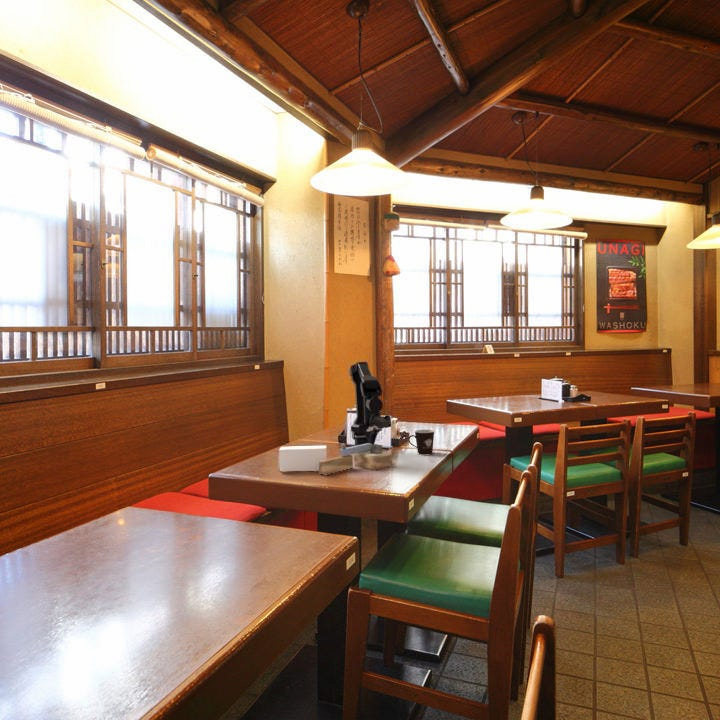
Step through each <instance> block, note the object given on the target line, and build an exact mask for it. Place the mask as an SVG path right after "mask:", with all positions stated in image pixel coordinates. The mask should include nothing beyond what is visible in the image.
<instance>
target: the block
mask: <svg viewBox="0 0 720 720" xmlns="http://www.w3.org/2000/svg"><path fill="white" fill-rule="evenodd" d="M370 445H372V444H371V443H366V444H361V445H357V446H355V445H353V446H348V447H347V444H346V443H341V448H339V456H346V455H353V454H354V455H355V453H359V452H363V451H368V450H370Z"/></svg>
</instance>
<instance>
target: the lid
mask: <svg viewBox="0 0 720 720" xmlns="http://www.w3.org/2000/svg"><path fill="white" fill-rule="evenodd" d="M354 455H357V456H362V457H367V458H372V459H376V458H380V457H385V456H389V455H392V452H391V451H386V450H383V445H382V444H376V443H374V445H370V450H368V451H363V452H359V453H354Z"/></svg>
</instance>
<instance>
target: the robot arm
mask: <svg viewBox="0 0 720 720" xmlns="http://www.w3.org/2000/svg"><path fill="white" fill-rule="evenodd" d="M348 373H349V377H350V381H351V382H352V383H353V385H354V395H355V397H354V398H355V412H356V414H355V415H356V417H355V419H354V420H353V424H352V425H351V426H350V432H351V438H352V439H353V440H354V446H357V445H361V444H366V443H371V444H372V445H374V444H376V439H377V436H378V435H379V433H380V432H381V431H382V430H383V429H387V428H391V427H392V418H391V417H392V416H391V415H389V414H386V415H384V416H382V415H381V410H383V407H384V404H383V403H384V402H383V401H382V400H381V398H379V397H382V395H383V389H382V386H381V384H380V383H381V382H380V381H379V380H378V379H377V377H376V376H374V375H372V373H371V371H370V367H369V364H368V362H367V361H357V362H355V364H352V365H350V367H349V370H348Z"/></svg>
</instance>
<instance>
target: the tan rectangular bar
mask: <svg viewBox="0 0 720 720" xmlns="http://www.w3.org/2000/svg"><path fill="white" fill-rule="evenodd" d="M353 461H354V457H353V454H350V455H346V456H340V455H339V456H336V457H331V458H327V459H326V460H321V461H319V471H318V472H319V473H318V475H319V474H323V475H325V474H329V473H333V474H335V473H334V472H337V473H339V472H338V471H341V472H343V471H342V470H345V471H347V470H346V469H349V470H351V469H350V468H354V465H353V463H354V462H353ZM323 475H322V476H323ZM329 475H330V474H329ZM325 476H326V475H325Z"/></svg>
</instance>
